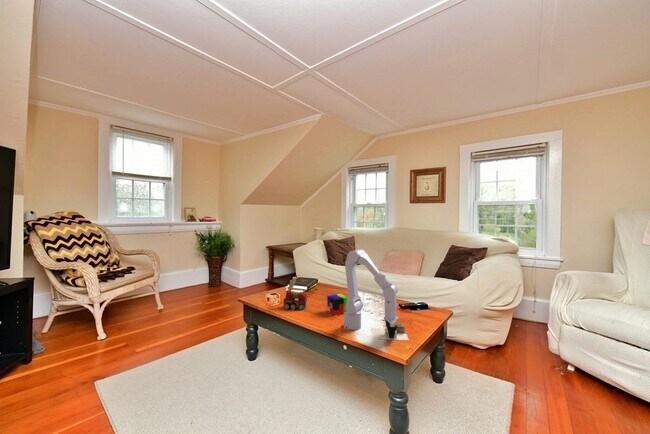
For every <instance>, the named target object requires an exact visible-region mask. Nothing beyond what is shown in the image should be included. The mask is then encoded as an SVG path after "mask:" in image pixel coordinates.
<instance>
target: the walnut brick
mask: <svg viewBox="0 0 650 434" xmlns="http://www.w3.org/2000/svg"><path fill="white" fill-rule="evenodd" d="M394 325H397V326H398V327H397V329H396V332H401V333H405V331H406V327H405V325H404V323H394Z"/></svg>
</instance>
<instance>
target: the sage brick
mask: <svg viewBox="0 0 650 434" xmlns="http://www.w3.org/2000/svg"><path fill="white" fill-rule="evenodd" d="M385 338H389V334H388V329H385ZM394 338H397V332H396V331H395V335H394Z"/></svg>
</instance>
